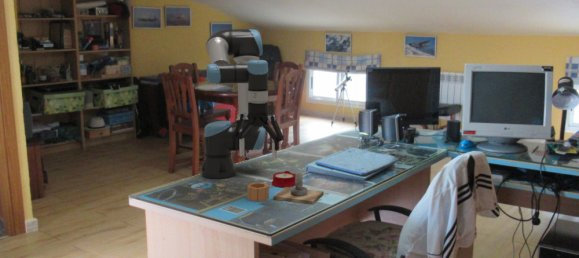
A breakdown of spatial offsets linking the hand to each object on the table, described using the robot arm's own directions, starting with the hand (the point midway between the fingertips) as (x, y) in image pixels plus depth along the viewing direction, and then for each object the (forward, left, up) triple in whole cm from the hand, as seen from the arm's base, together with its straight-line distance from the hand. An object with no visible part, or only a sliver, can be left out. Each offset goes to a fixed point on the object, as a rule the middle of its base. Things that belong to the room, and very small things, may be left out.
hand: (258, 157), depth 219 cm
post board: (+14, +8, -16) cm, 23 cm away
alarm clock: (+3, +23, -17) cm, 29 cm away
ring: (0, 0, -16) cm, 16 cm away
